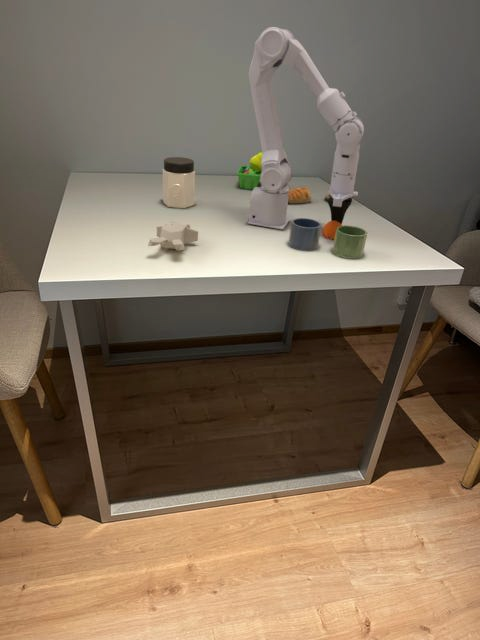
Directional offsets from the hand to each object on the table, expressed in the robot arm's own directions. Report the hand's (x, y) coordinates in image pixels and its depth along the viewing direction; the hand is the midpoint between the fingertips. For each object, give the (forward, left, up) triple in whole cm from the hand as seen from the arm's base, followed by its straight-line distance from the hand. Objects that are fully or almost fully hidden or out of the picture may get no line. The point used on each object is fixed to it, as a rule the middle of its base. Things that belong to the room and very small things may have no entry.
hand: (336, 226), depth 119 cm
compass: (-3, +30, -2) cm, 30 cm away
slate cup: (-6, -11, -2) cm, 13 cm away
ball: (0, -2, -1) cm, 2 cm away
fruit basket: (-32, +33, -2) cm, 46 cm away
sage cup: (+4, -11, -2) cm, 12 cm away
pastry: (-15, +24, -2) cm, 28 cm away
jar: (-45, +3, -2) cm, 45 cm away
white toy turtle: (-33, -27, -2) cm, 43 cm away
